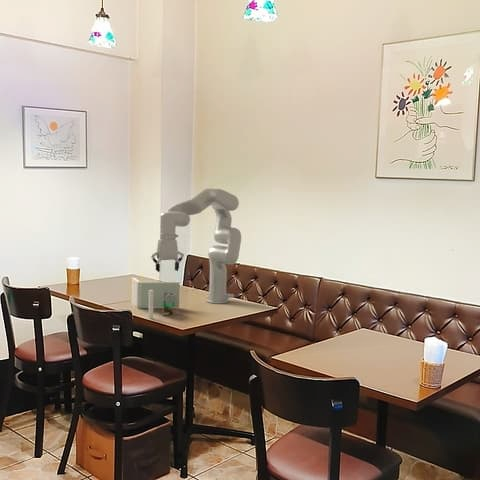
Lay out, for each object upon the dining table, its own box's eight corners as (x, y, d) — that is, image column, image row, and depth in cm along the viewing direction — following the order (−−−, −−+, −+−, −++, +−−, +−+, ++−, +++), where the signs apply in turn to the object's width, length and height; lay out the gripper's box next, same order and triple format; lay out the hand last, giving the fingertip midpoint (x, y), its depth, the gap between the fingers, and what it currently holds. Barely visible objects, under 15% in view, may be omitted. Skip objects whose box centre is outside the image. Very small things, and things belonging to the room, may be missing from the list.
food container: (175, 316, 295) (175, 297, 294) (163, 316, 295) (163, 297, 294) (175, 311, 307) (176, 292, 306) (164, 310, 307) (164, 292, 306)
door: (140, 306, 312) (141, 281, 311) (178, 306, 316) (179, 281, 314) (140, 307, 310) (141, 282, 308) (179, 307, 313) (179, 282, 311)
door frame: (134, 302, 323) (134, 277, 321) (153, 318, 290) (153, 290, 288) (131, 303, 322) (131, 277, 320) (149, 319, 289) (149, 290, 288)
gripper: (181, 236, 303) (181, 269, 305) (148, 236, 295) (148, 270, 297) (186, 237, 296) (186, 271, 298) (153, 238, 289) (152, 273, 291)
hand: (167, 270), depth 298 cm, fingers open, 9 cm apart
